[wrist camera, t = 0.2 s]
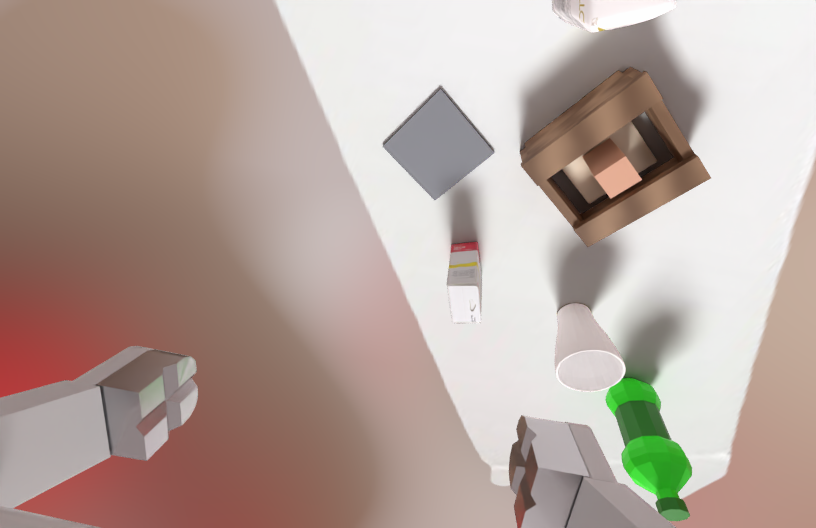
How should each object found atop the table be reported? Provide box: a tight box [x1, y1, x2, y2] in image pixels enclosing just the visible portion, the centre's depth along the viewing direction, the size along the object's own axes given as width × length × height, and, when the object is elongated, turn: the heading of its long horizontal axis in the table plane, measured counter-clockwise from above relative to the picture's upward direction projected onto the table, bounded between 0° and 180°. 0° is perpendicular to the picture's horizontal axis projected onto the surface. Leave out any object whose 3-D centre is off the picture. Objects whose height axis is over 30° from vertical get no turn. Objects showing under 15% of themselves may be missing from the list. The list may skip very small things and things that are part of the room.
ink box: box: [447, 242, 482, 323], centre depth 64 cm, size 9×5×12 cm, turn 11°
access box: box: [520, 67, 711, 247], centre depth 52 cm, size 16×16×7 cm
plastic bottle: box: [606, 378, 692, 521], centre depth 71 cm, size 10×10×25 cm
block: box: [583, 138, 642, 199], centre depth 50 cm, size 4×4×7 cm
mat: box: [383, 89, 494, 200], centre depth 57 cm, size 12×12×1 cm
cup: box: [555, 303, 626, 392], centre depth 67 cm, size 10×10×14 cm
